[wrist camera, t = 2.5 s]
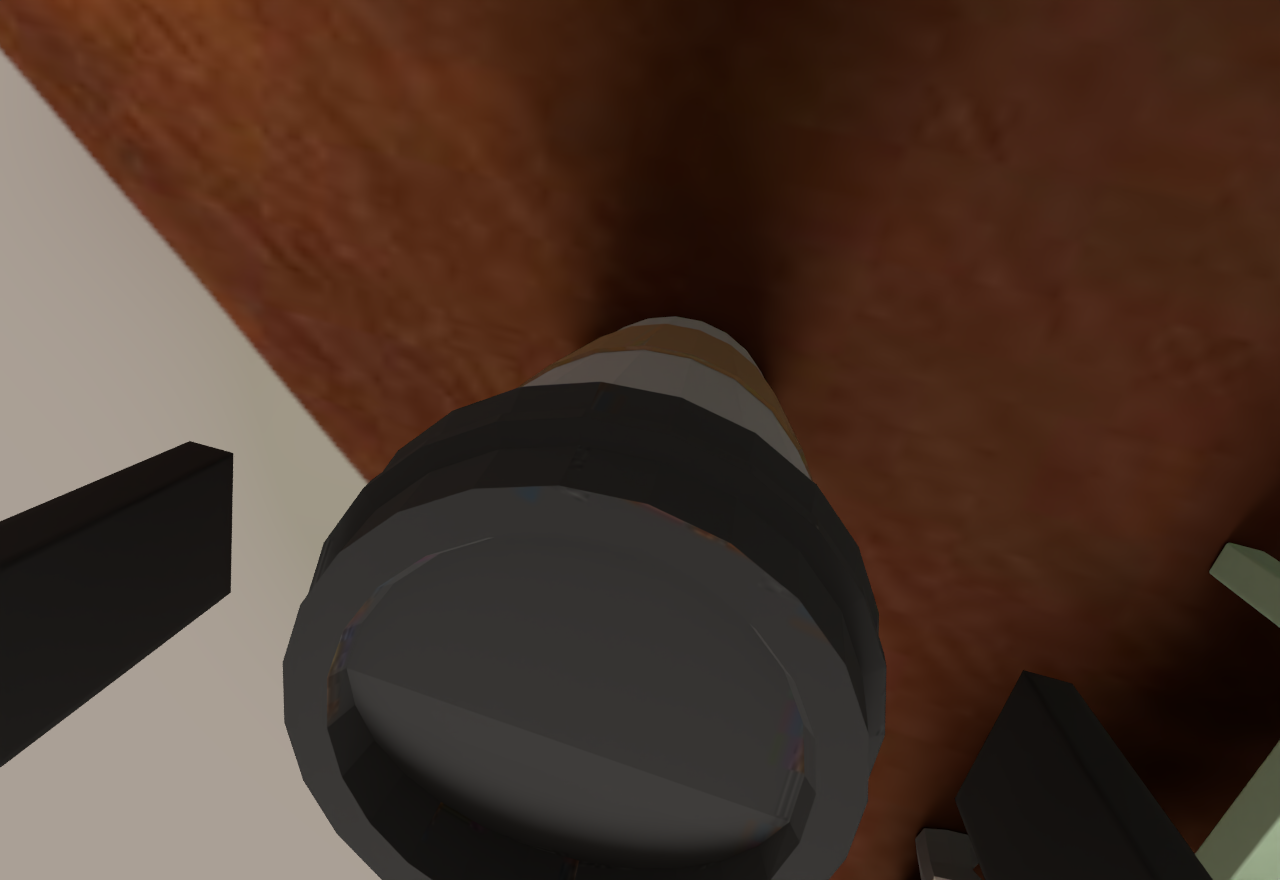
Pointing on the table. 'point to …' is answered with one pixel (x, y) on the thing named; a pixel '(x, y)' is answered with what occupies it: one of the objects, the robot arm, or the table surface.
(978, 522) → the table surface
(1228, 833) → the shelf
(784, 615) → the coffee cup
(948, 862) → the giant panda
